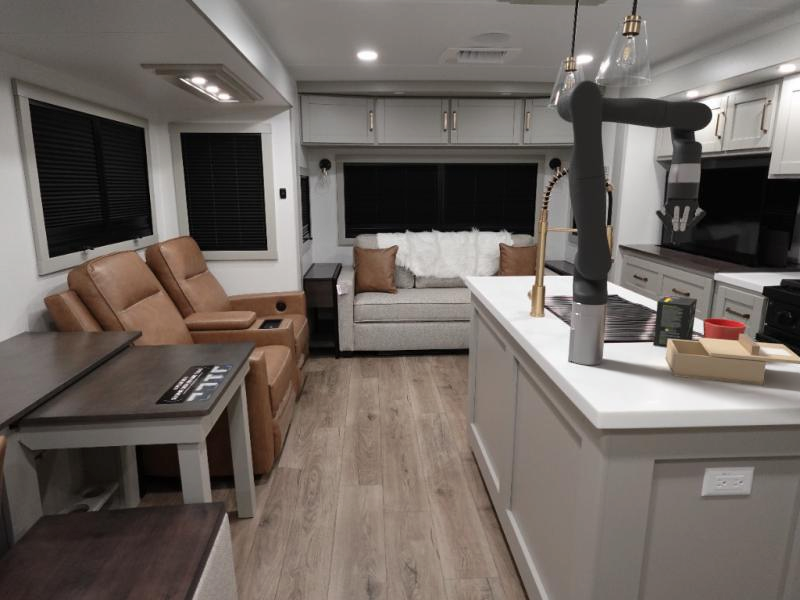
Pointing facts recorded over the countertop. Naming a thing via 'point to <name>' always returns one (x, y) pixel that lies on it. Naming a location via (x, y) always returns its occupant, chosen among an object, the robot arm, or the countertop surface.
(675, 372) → the box
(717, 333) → the flower pot
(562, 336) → the countertop surface
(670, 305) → the tampon box
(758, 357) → the lid
